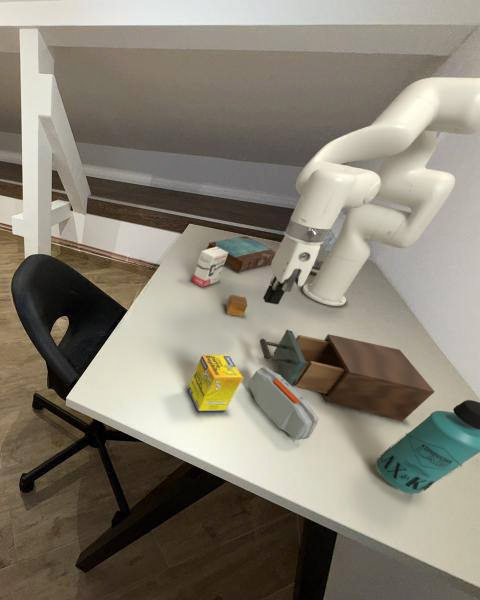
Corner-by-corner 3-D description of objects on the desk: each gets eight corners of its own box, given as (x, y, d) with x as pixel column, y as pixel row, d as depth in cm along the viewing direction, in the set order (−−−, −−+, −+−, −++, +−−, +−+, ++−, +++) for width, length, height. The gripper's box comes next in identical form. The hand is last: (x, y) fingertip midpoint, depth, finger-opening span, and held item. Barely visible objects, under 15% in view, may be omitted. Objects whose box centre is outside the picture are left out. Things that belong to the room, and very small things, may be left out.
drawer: (257, 379, 71) (272, 355, 67) (250, 347, 80) (262, 324, 76) (351, 403, 67) (373, 379, 63) (332, 367, 76) (349, 343, 72)
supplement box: (186, 390, 68) (201, 354, 62) (212, 389, 69) (229, 354, 63) (197, 413, 63) (214, 377, 57) (224, 413, 64) (244, 376, 58)
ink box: (202, 287, 106) (213, 256, 99) (191, 281, 109) (200, 250, 103) (218, 282, 110) (229, 251, 103) (206, 275, 113) (216, 246, 107)
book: (238, 273, 117) (243, 261, 114) (204, 253, 130) (207, 242, 127) (276, 263, 126) (281, 252, 124) (240, 246, 139) (244, 235, 136)
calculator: (326, 262, 129) (327, 276, 118) (325, 264, 129) (326, 278, 119) (295, 253, 134) (293, 266, 123) (294, 255, 134) (292, 268, 123)
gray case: (305, 443, 59) (327, 418, 55) (293, 447, 59) (314, 421, 54) (251, 385, 71) (266, 360, 66) (241, 387, 70) (255, 362, 65)
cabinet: (325, 402, 68) (350, 371, 63) (308, 362, 78) (328, 334, 73) (402, 421, 65) (435, 391, 60) (374, 378, 76) (399, 349, 70)
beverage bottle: (367, 454, 58) (446, 383, 47) (413, 476, 56) (508, 406, 44) (370, 483, 54) (458, 412, 43) (420, 509, 51) (528, 440, 40)
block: (225, 305, 98) (230, 294, 95) (240, 308, 97) (245, 297, 94) (226, 313, 94) (231, 301, 92) (242, 316, 93) (247, 305, 91)
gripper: (339, 248, 60) (295, 322, 70) (313, 222, 72) (279, 289, 82) (297, 241, 61) (260, 315, 71) (278, 217, 73) (249, 284, 83)
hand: (270, 301), depth 77 cm, fingers closed
